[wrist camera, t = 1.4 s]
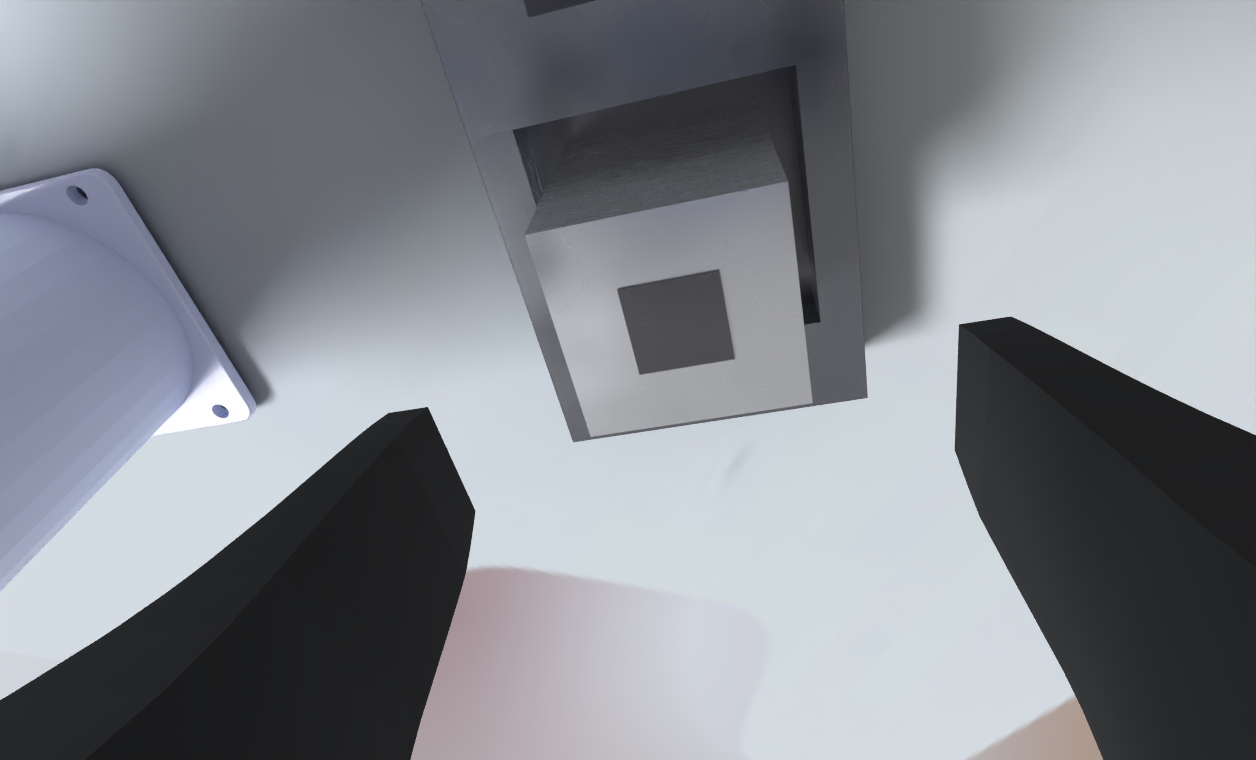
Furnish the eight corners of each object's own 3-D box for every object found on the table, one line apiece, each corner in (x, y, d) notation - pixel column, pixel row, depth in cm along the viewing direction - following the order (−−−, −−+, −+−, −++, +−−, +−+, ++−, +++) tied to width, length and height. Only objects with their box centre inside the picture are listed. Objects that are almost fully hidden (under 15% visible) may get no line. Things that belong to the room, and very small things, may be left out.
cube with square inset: (610, 307, 19) (590, 438, 14) (565, 143, 17) (523, 236, 12) (778, 277, 18) (813, 404, 14) (755, 100, 16) (788, 182, 11)
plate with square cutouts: (581, 396, 22) (572, 443, 20) (380, -225, 14) (335, -244, 12) (850, 353, 21) (867, 398, 19) (798, -363, 13) (819, -408, 11)
